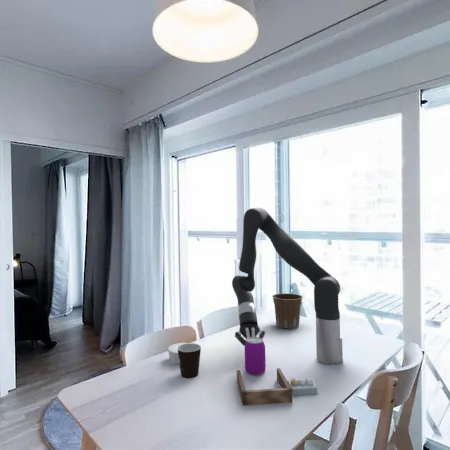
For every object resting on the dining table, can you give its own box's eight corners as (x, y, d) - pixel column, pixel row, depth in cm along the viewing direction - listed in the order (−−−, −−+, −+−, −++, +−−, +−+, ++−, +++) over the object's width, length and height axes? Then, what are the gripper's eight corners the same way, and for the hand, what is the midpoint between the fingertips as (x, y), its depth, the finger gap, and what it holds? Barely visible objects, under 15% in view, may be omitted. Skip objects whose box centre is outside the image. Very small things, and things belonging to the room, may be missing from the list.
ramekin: (194, 366, 127) (194, 352, 127) (165, 366, 127) (165, 353, 127) (196, 354, 139) (196, 342, 139) (170, 355, 139) (170, 342, 139)
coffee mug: (197, 380, 115) (197, 352, 115) (174, 379, 117) (174, 351, 117) (206, 366, 126) (205, 341, 126) (184, 365, 128) (184, 339, 128)
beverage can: (261, 366, 126) (261, 335, 126) (268, 375, 118) (267, 342, 118) (242, 368, 124) (242, 337, 124) (248, 377, 117) (247, 344, 117)
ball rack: (310, 384, 111) (310, 373, 111) (316, 393, 105) (316, 382, 105) (287, 386, 110) (287, 374, 110) (292, 395, 104) (292, 383, 104)
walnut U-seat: (280, 379, 115) (279, 368, 115) (292, 402, 100) (292, 389, 100) (236, 381, 114) (236, 370, 114) (242, 405, 98) (242, 392, 99)
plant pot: (286, 319, 188) (285, 291, 188) (309, 326, 175) (308, 296, 175) (266, 325, 177) (266, 295, 178) (289, 332, 165) (288, 300, 165)
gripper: (232, 311, 136) (236, 351, 124) (263, 310, 137) (270, 350, 125) (231, 320, 142) (235, 360, 129) (261, 319, 143) (268, 358, 130)
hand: (252, 355), depth 127 cm, fingers closed
